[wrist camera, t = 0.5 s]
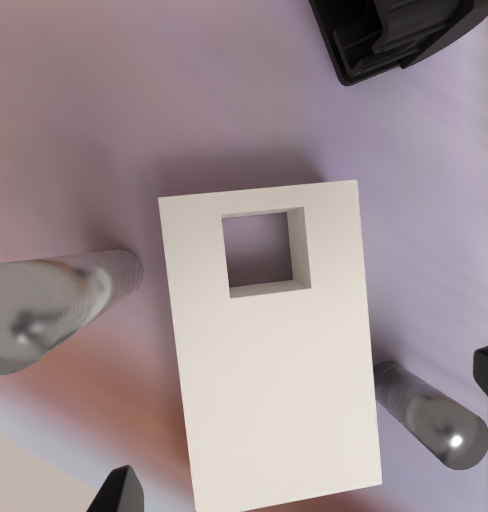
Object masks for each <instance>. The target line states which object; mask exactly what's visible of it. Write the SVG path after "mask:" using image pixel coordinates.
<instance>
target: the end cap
mask: <svg viewBox="0 0 488 512" xmlns="http://www.w3.org/2000/svg"><path fill="white" fill-rule="evenodd" d="M309 2H310V4H311V7H312V10H313V12H314V15H315V18H316V20H317V23H318V25H319V28H320V31H321V33H322V36H323V39H324V41H325V44H326V47H327V49H328V52H329V54H330V57H331V60H332V62H333V65H334V68H335V70H336V73H337V76H338V78H339V81H340V82H341V84H342V85H344V86H351V85H353V84H356V83H358V82H361V81H363V80H366V79H368V78H371V77H373V76H376V75H378V74H381V73H383V72H386V71H388V70H391V69H393V68H395V67H397V66H400V67H401V68H402V69H405V68H407V67H409V66H412V65H414V64H416V63H418V62H420V61H422V60H424V59H426V58H428V57H430V56H431V55H433V54H435V53H437V52H438V51H440V50H442V49H443V48H445V47H447V46H448V45H450V44H451V43H453V42H455V41H456V40H458V39H459V38H461V37H462V36H463V35H465V34H466V33H468V32H469V31H470V30H472V29H473V28H474V27H476V26H477V25H478V24H479V23H480V22H482V21H483V20H484V19H485V18H486V17H487V16H488V0H309Z"/></svg>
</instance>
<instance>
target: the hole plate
mask: <svg viewBox="0 0 488 512" xmlns="http://www.w3.org/2000/svg"><path fill="white" fill-rule="evenodd" d="M158 202H159V210H160V219H161V227H162V235H163V243H164V252H165V260H166V268H167V277H168V285H169V293H170V301H171V310H172V318H173V326H174V335H175V343H176V351H177V359H178V368H179V376H180V384H181V393H182V401H183V409H184V417H185V426H186V434H187V442H188V451H189V459H190V467H191V475H192V484H193V492H194V500H195V509H196V512H242V511H247V510H252V509H257V508H262V507H267V506H272V505H278V504H283V503H288V502H293V501H298V500H303V499H308V498H313V497H319V496H324V495H329V494H334V493H339V492H344V491H349V490H354V489H360V488H365V487H370V486H375V485H380V484H382V474H381V462H380V450H379V438H378V425H377V413H376V401H375V389H374V377H373V365H372V353H371V341H370V329H369V316H368V304H367V292H366V280H365V268H364V256H363V244H362V232H361V219H360V207H359V195H358V183H357V180H346V181H335V182H324V183H313V184H302V185H291V186H280V187H269V188H258V189H247V190H236V191H225V192H214V193H203V194H192V195H181V196H170V197H159V198H158ZM283 212H287V222H288V232H289V243H290V253H291V263H292V274H293V280H286V281H278V282H270V283H262V284H254V285H245V286H237V287H229V283H228V273H227V264H226V255H225V246H224V237H223V228H222V219H223V218H233V217H243V216H253V215H263V214H273V213H283Z"/></svg>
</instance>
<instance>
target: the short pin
mask: <svg viewBox="0 0 488 512" xmlns="http://www.w3.org/2000/svg"><path fill="white" fill-rule="evenodd" d="M373 377H374V389H375V399H376V400H377V401H378V402H379V403H380V404H381V405H382V406H383V407H384V408H385V409H386V410H387V411H388V412H389V413H390V414H391V415H393V416H394V417H395V418H396V419H397V420H398V421H399V422H400V423H401V424H402V425H403V426H404V427H405V428H406V429H407V430H408V431H409V432H410V433H412V434H413V435H414V436H415V437H416V438H417V439H418V440H419V441H420V442H421V443H422V444H423V445H424V446H425V447H426V448H427V449H428V450H429V451H431V452H432V453H433V454H434V455H435V456H436V457H437V458H438V459H439V460H440V461H441V462H442V463H443V464H444V465H446V466H447V467H449V468H451V469H454V470H465V469H469V468H471V467H473V466H475V465H476V464H478V463H479V462H480V461H481V460H482V459H483V457H484V456H485V454H486V452H487V450H488V427H487V425H486V423H485V422H484V421H483V420H482V419H481V418H480V417H479V416H477V415H476V414H474V413H472V412H471V411H469V410H468V409H466V408H465V407H463V406H462V405H460V404H459V403H457V402H456V401H454V400H453V399H451V398H449V397H448V396H446V395H445V394H443V393H442V392H440V391H439V390H437V389H436V388H434V387H433V386H431V385H430V384H428V383H426V382H425V381H423V380H422V379H420V378H419V377H417V376H416V375H414V374H413V373H411V372H410V371H408V370H407V369H405V368H403V367H402V366H400V365H399V364H397V363H394V362H384V363H381V364H379V365H378V366H376V367H375V368H374V369H373Z"/></svg>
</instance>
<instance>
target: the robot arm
mask: <svg viewBox="0 0 488 512" xmlns="http://www.w3.org/2000/svg"><path fill="white" fill-rule="evenodd" d="M473 377H474V379H475V381H476V383H477V384H478V385H479V387H480V388H481V389H482V390H483V391H484V392H485V394H486V395H487V396H488V346H486V347H483V348H480V349H477V350H475V352H474V357H473ZM86 512H144V494H143V489H142V486H141V484H140V482H139V480H138V478H137V476H136V474H135V472H134V470H133V468H132V467H131V466H130V465H126V466H123V467H120V468H116V469H114V470H112V471H111V472H110V474H109V475H108V477H107V479H106V480H105V482H104V483H103V485H102V487H101V488H100V490H99V492H98V493H97V495H96V497H95V498H94V500H93V501H92V503H91V505H90V506H89V508H88V510H87V511H86Z"/></svg>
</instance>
